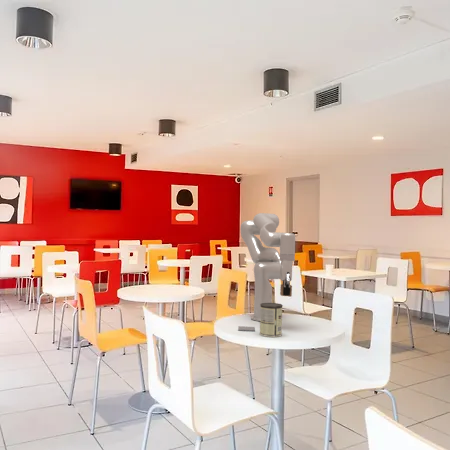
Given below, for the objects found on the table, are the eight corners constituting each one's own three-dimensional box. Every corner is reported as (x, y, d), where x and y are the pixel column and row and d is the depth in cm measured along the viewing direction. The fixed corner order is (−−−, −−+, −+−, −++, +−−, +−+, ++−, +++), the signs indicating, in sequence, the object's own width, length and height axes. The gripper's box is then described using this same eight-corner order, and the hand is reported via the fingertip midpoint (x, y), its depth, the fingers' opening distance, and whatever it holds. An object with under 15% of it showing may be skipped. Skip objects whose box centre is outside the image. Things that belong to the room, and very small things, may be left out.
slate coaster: (238, 327, 222) (238, 326, 222) (254, 328, 222) (254, 326, 222) (238, 330, 214) (238, 329, 214) (255, 331, 214) (255, 330, 214)
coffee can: (261, 331, 214) (262, 302, 214) (282, 333, 212) (283, 303, 212) (257, 336, 204) (258, 305, 204) (280, 338, 202) (281, 306, 202)
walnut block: (280, 294, 225) (280, 284, 225) (290, 294, 225) (290, 284, 225) (281, 295, 220) (281, 285, 220) (291, 296, 220) (291, 285, 220)
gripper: (277, 256, 231) (276, 292, 231) (281, 258, 214) (280, 296, 214) (292, 257, 231) (290, 292, 231) (297, 259, 214) (295, 297, 213)
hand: (285, 294), depth 222 cm, fingers closed on walnut block, 5 cm apart
